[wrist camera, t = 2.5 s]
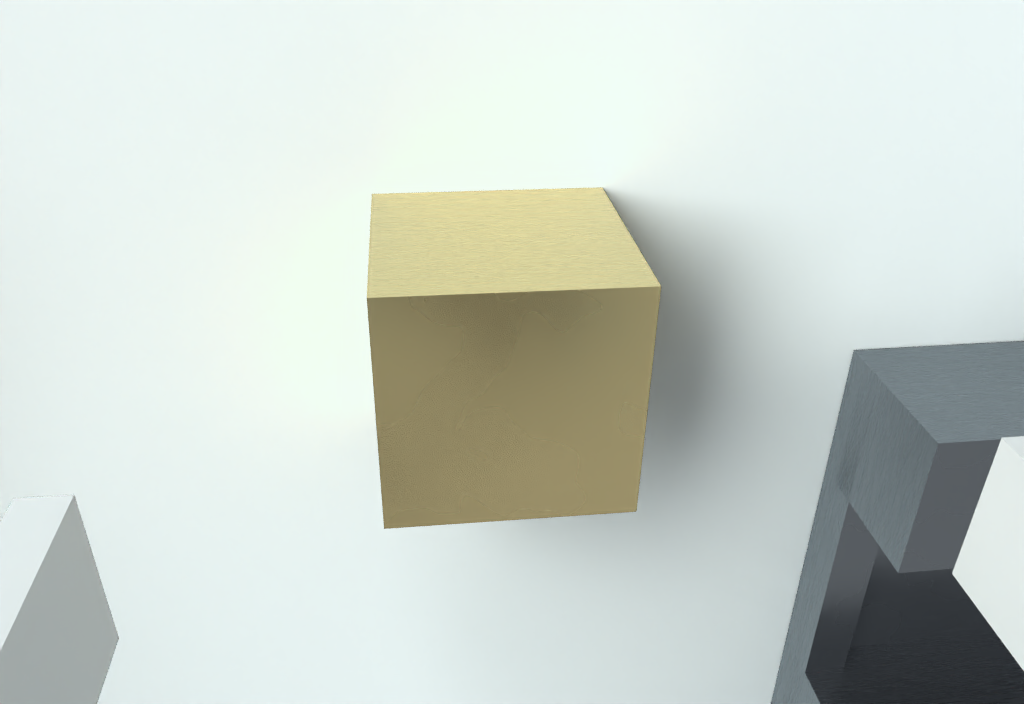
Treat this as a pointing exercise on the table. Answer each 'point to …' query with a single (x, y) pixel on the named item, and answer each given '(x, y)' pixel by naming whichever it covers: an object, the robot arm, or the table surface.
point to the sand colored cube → (508, 355)
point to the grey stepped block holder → (905, 534)
